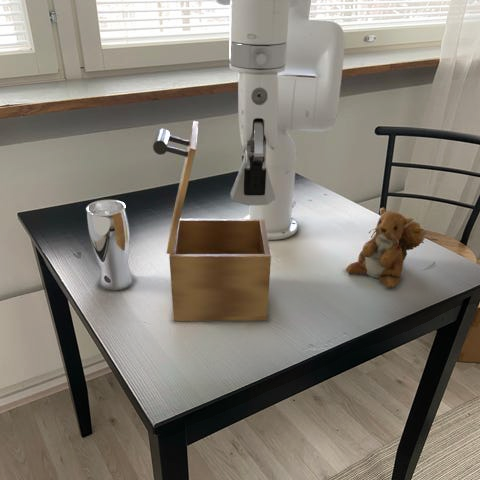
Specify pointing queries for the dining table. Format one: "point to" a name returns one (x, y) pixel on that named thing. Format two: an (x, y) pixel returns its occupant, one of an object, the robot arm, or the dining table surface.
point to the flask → (249, 200)
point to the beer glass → (110, 242)
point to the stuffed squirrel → (388, 248)
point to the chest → (220, 270)
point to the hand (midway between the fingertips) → (252, 186)
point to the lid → (161, 148)
